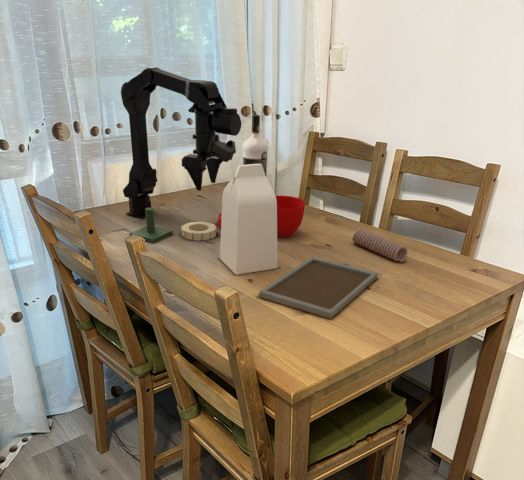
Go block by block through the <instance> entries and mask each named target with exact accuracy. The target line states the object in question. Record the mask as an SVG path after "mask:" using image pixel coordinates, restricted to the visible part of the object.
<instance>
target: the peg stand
mask: <svg viewBox="0 0 524 480" xmlns="http://www.w3.org/2000/svg"><path fill="white" fill-rule="evenodd" d="M145 213H146V216H145V224H146V226H143V227H141V228H138V229H136V230H133V231H131V232H129V236H130V235H133V234H135V235H138V236H141V237H143V238H144V239H145V241H144V242H148V243H151V244H156V243H157V242H160V241H162V240H164V239H166V238H168V237H170V236H172V235H173V230H171V229H167V228H164V227H161V226H156V223H155V210H154V207H151V208H146V209H145Z"/></svg>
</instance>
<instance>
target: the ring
mask: <svg viewBox="0 0 524 480" xmlns="http://www.w3.org/2000/svg"><path fill="white" fill-rule="evenodd" d="M180 234H181V236H182V237H183V238H184V239H185V240H191V241H207V240H212V239H214V238H215V237H217V226H216V225H215V224H214V223H210V222H206V221H191V222H188V223H187V222H186V223H184V224H182V225H181V227H180Z"/></svg>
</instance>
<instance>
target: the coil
mask: <svg viewBox="0 0 524 480" xmlns="http://www.w3.org/2000/svg"><path fill="white" fill-rule="evenodd" d="M352 242H353V243H354V244H356V245H359V246H360V247H363V248H365V249H367V250H369V251H372V252H374V253H376V254H379V255H381V256H384V257H386V258H388V259H390V260H392V261H395V262H399V263H403V262H404V261H405V260H406V259H407V257H408V256H407V255H408V248H407V247H406V246H405V245H403V244H400V243H398V242H395V241H394V240H391V239H388V238H385V237H384V236H381V235H379V234H376V233H373V232H371V231H368V230H366V229H364V228H357V230H355V231H354V233H353V234H352Z"/></svg>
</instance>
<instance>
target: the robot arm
mask: <svg viewBox="0 0 524 480" xmlns="http://www.w3.org/2000/svg"><path fill="white" fill-rule="evenodd" d="M157 87H160V88H163V89H165V90H168V91H172V92H173V93H177V94H180V95H182V96H184V97H185V98H186V100H188V101H189V102H190V103H193V104H192V106H191V107H189V108H188V110H187V111H188V113H192V114H194V130H195V131H194V134H192V140H195V149H192V153H189V154H187V155H184V156H183V157H182V158H181V167H182V168H184V170H186V172H187V173H188V175H189V177H190V178H191V180H192V182H193V185H194V186H195V188H196V190H197V191H199V192H200V191H202V186H203V177H204V176H203V175H204V172H205V171H206V170H207V173H208V177H209V180H210V183H211V184H215V183H216V180H217V177H218V173H219V169H220V167H221V165H222V163H223V162H225V163H228V162H229V161H232V160H233V158H234V155H235V154H236V153H237V147H236V142H235V141H233V140H231V139H230V140H227V142H226V141H221V140H220V135H219V134H222V135H227V136H232V137H233V136H235V137H236V136H238V135H239V133H240V131H241V128H242V119H241V116H240V114H239V113H238V108H234V107H233V108H228V106H227V104H226V103H225V100H224V98H223V97H222V95H221V92H220V89H219V87H218V85H217V83H216V82H214V81H212V80H203V79H191V78H187V77H184V76H182V75H178V74H175V73H172V72H169V71H166V70H163V69H161V68H159V67H156V66H152V67H146V68H144V69H143V70H142V71H141V72H140V73H138V74H137V75H135V76H134V77H132V78H131V79H129V80H128V81H126V82H124V83H123V84H122V85H121V86H120V96H121V101H122V105H123V107H124V108H125V110H126V112H127V114H128V119H129V131H130V143H131V145H130V146H131V154H132V155H131V156H132V165H131V167H130V170H129V172H128V183H127V184H126V185H125V186H124V188H123V189H122V193H123V195H124V198H128V205H129V211H128V212H126V215H127V216H128V215H129V216H133V217H137V218H146V213H145V209H146V208H152V201H151V198H150V196H151V195H152V194H154V190H155V187H156V186H157V183H158V182H159V181H158V177H157V173H158V172H157V168H153V167H152V165H151V164H150V158H149V157H150V156H149V155H150V154H149V143H148V142H149V141H148V128H147V127H148V126H147V113H148V109H149V107H150V105H151V94H152V93H153V92H154V91H156V90H157Z"/></svg>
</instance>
